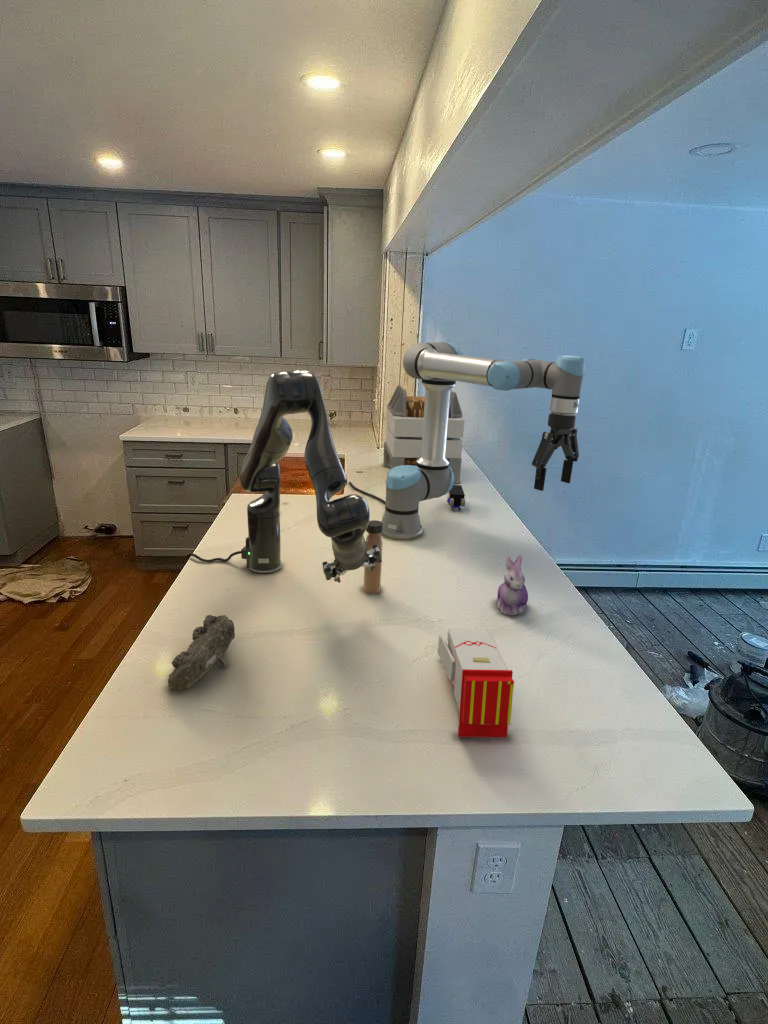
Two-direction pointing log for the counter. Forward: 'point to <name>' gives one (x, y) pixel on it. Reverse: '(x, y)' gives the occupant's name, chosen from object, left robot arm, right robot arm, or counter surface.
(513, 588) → the figurine
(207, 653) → the fossil
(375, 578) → the bottle
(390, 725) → the counter surface
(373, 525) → the cap
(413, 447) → the grey slatted crate
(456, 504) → the figurine character
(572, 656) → the counter surface
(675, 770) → the counter surface
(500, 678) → the toy
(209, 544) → the counter surface
